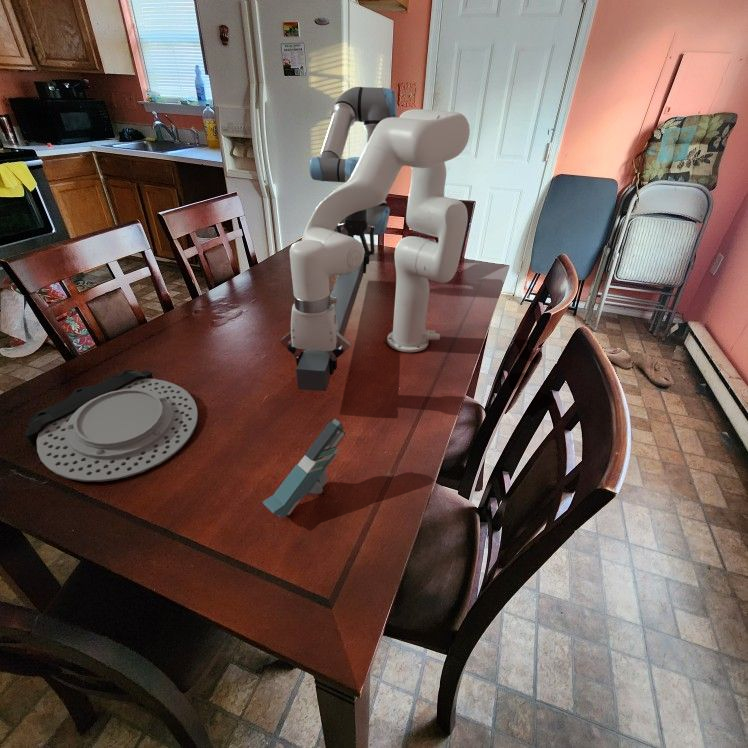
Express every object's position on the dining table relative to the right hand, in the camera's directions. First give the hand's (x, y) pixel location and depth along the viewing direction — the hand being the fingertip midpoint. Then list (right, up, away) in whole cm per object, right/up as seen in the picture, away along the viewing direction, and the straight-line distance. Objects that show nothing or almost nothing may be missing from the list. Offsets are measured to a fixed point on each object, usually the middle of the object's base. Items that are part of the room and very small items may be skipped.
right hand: (317, 369), depth 98 cm
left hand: (+6, +38, +59) cm, 70 cm away
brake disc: (-42, -13, -7) cm, 44 cm away
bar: (+3, +18, +30) cm, 35 cm away
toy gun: (+1, -24, -20) cm, 31 cm away
